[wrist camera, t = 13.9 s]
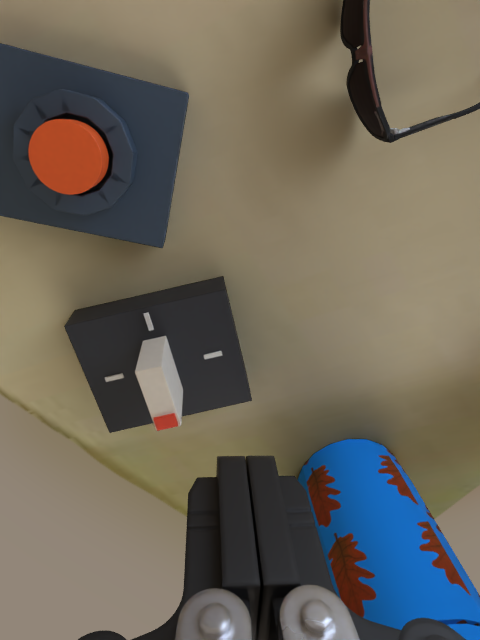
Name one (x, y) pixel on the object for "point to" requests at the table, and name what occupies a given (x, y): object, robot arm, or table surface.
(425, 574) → the thermos
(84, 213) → the switch block
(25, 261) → the table surface
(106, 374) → the dial panel
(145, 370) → the white rectangular block
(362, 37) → the sunglasses
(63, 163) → the button
